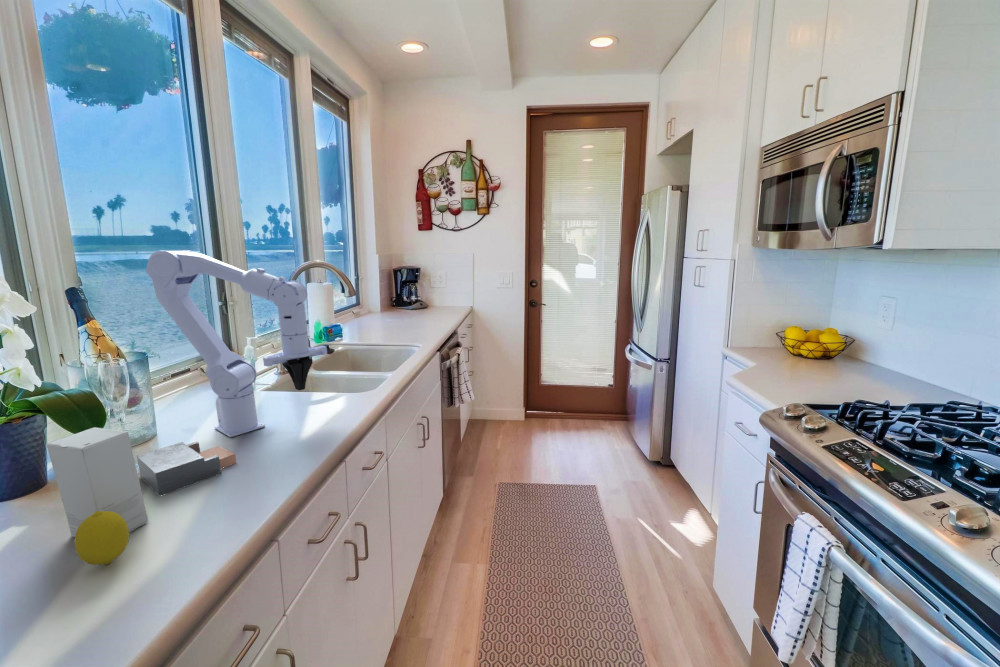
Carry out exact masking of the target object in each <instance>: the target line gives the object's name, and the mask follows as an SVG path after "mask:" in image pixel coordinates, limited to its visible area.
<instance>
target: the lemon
mask: <svg viewBox="0 0 1000 667" xmlns="http://www.w3.org/2000/svg"><path fill="white" fill-rule="evenodd" d="M129 540H130V532H129V530H128V526H127V523H126V521H125V520H124V518H123V517H122V516H121V515H119V514H118V513H115V512H111V511H97V512H95V513H94V514H93V515H91V516H89V517H88V518H86V519H85V520H84V521H83V522H82V523H81V524H80V526H79V527H78V529H77V532H76V536H75V537H74V548H75V551H76V554H77V555H78V557H79V558H80V560H81V561H83V562H84V563H86V564H88V565H93V566H95V565H96V566H97V565H99V566H101V565H103V566H107V565H111V563H112V562H113V561H114V560H116V559H117V558H119V557H120V556H121V555H122V553H123V552H124V551H125V550H126V548H127V546H128V543H129Z"/></svg>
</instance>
